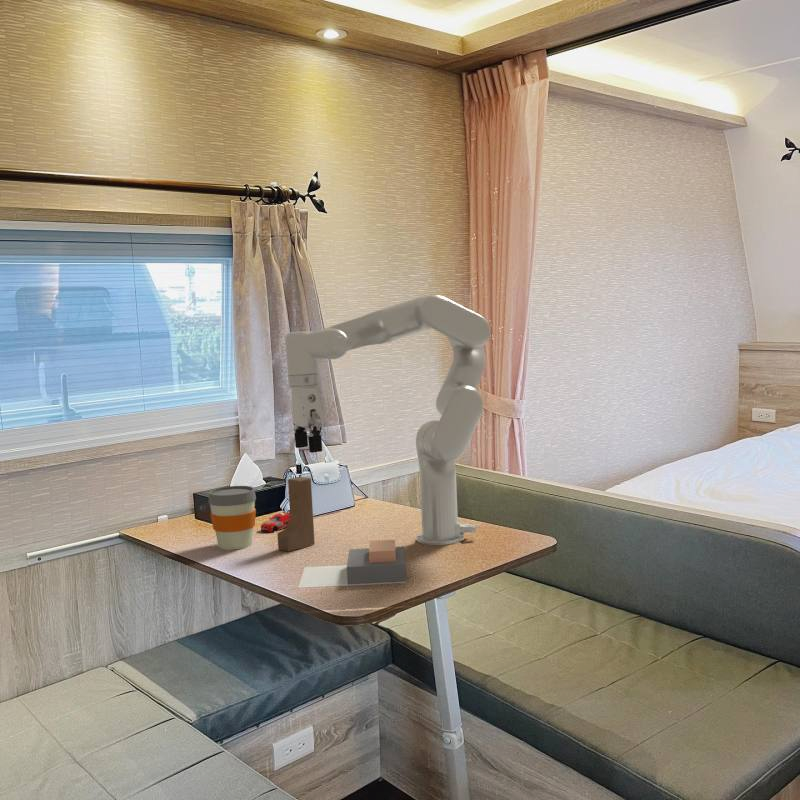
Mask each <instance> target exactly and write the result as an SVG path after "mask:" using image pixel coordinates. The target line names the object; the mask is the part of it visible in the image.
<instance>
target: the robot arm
mask: <svg viewBox="0 0 800 800" xmlns="http://www.w3.org/2000/svg"><path fill="white" fill-rule="evenodd" d="M429 329H430V330H435V331H437V332H438V333H440V334H442V335H444V336H445V337H447V340H448V341H449V343H450V345H451V347H452V350H453V351H452V352H453V353H452V354H453V358H452V363H451V365H450V367H449V371H448V373H447V375H446V377H445V379H444V381H443V384H442V386H441V388H440V389H439V392H438V394H437V397H436V402H435V407H436V410H437V411H438V412H439V414H440V415H441V416H440V418H439V420H434V419H433V420H429V421H425V423H423V424H422V425H421V426H420V427H419V429H418V431H417V433H416V436H415V447H416V453H417V460H418V468H419V470H418V471H419V487H420V489H419V491H420V512H421V513H420V514H421V532H419V533H418V534H417V535H416V541H417V542H418V543H420V544H422V545H427V546H428V545H429V546H448V545H449V546H450V545H453V544H459V543H461V542H463V541H464V540H465V533H477V532H476V531H477V527H476V526H477V525H476V524H471V523H464V524H463V523H460V521H459V518H458V517H459V516H458V498H457V497H458V495H457V471H456V469H457V468H456V463H455V462H456V461H457V460H458V459H460V458H461V457H462V456H463V454H464V453H465V451H466V449H467V448H468V445H469V443H470V441H471V439H472V437H473V435H474V433H475V430H476V428H477V426H478V423H479V421H480V419H481V416H482V413H483V409H484V402H483V401H484V400H483V397H482V395H481V393H480V391H478V390H477V389H478V387H479V384H480V382H481V379H482V376H483V374H484V371H485V368H486V353H485V348H484V347H485V344H487V342H488V341H489V339H490V337H491V330H492V329H491V325H490V324H489V321H487V319H486V318H485V317H484V316H482V315H481V314H479V313H476V312H475V311H473V310H471V309H468V308H467V307H464V306H463V305H461V304H458V303H456V302H455V301H453V300H451V299H449V298H447V297H445V296H442V295H438V294H429V295H423V296H422V295H421V296H419V297H416V298H412V299H408V300H406V301H403V302H400V303H396V304H393V305H391V306H387V307H385V308H382V309H378V310H375V311H372V312H370V313H367V314H365V315H362V316H359V317H356V318H353V319H348V320H347V321H343V322H339V323H337V324H334V325H331V326H328V327H325V328H322V329H320V330H318V331H310V330H307V331H305V330H303V331H290V332H288V333H287V334H285V338H284V343H285V355H286V356H285V357H286V369H287V379H288V389H289V390H291V391H290V393H291V394H290V396H291V399H290V400H291V401H290V402H291V403H290V404H291V415H292V425H293V432H294V446H295V448H297V449H300V448H307V447H308V451H309V453H311V454H312V453H320V452H322V451H323V440H322V434H323V431H322V428H323V425H324V413H323V406H322V398H321V394H320V389H319V387H320V379H319V377H320V376H319V364H318V359H324V360H325V359H326V360H337V359H340V358H342V357H344V356H345V355H346V354H347V352H349V351H351V350H352V351H353V350H356V349H360V348H362V347H363V348H364V347H367V346H373V345H376V346H377V345H382V344H387V343H390V342H395V341H396V340H399V339H402V338H403V339H404V338H405V337H408V336H411V335H415V334H418V333H420V332H424V331H426V330H429ZM308 434H309V436H308ZM462 540H463V541H462ZM458 542H459V543H458Z"/></svg>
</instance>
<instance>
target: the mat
mask: <svg viewBox="0 0 800 800" xmlns="http://www.w3.org/2000/svg"><path fill="white" fill-rule="evenodd" d="M405 583H407V581H406V582H389V583H370V584H350V585H348V581H347V564H345V565H343V564H341V565H324V566H323V565H322V566H305V567H303V570H302V574H301V577H300V581H299V584H298V587H297V588H298V589H307V588H324V587H325V588H327V587H344V586H346V587H347V586H362V585H363V586H364V585H382V584H383V585H386V584H387V585H388V584H405Z"/></svg>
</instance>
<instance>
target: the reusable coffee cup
mask: <svg viewBox="0 0 800 800" xmlns="http://www.w3.org/2000/svg"><path fill="white" fill-rule="evenodd" d="M256 500H257V496H256V491H255V487H254V486H250V485H230V486H222V487H218V488H214V489H211V490H209V492H208V504H209V505H210V519H211V523H212V529H213V530H214V531H215V536H216V542H217V546H218V548H219V549H220V548H221V549H220V550H224V549H225V550H224V551H234V550H233V549H237V550H242V549H241V548H243V549H246V548H248V546H249V547H251V546H252V545H253V540H254V538H253V536H254V527H255V526H256V517H257V516H256V515H257V509H256V508H255V506H256V504H255V503H256ZM250 545H251V546H250ZM245 547H246V548H245Z"/></svg>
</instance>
